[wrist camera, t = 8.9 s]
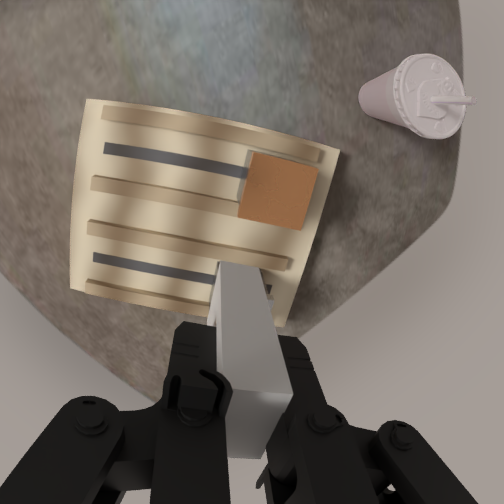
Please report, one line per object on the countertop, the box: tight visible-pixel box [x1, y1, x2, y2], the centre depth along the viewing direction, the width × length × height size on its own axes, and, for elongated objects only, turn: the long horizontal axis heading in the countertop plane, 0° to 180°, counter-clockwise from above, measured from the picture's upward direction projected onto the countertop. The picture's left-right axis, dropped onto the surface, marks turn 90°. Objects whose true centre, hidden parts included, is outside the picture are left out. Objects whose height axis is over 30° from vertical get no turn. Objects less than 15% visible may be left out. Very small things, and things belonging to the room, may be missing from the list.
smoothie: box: [358, 54, 477, 139], centre depth 20 cm, size 6×6×14 cm
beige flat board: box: [70, 99, 340, 327], centre depth 28 cm, size 22×18×3 cm
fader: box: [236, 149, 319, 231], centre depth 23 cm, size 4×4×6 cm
